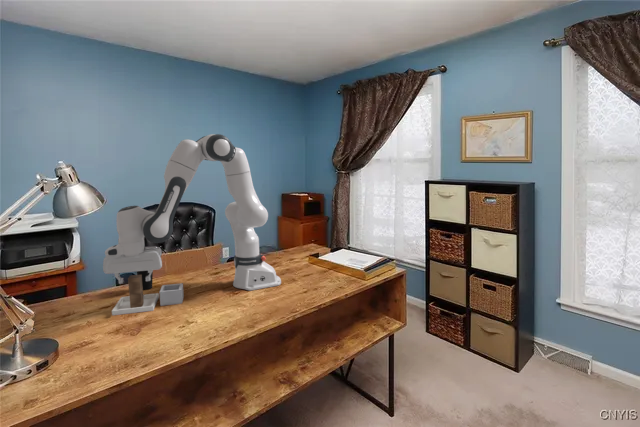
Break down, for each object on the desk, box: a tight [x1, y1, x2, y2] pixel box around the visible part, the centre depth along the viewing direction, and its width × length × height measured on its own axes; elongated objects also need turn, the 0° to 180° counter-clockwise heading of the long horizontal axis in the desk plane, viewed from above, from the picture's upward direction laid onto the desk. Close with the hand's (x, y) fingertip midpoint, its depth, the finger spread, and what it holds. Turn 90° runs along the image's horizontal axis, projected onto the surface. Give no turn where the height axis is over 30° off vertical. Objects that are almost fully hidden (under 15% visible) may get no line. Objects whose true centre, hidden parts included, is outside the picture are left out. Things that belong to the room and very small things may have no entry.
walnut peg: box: [127, 274, 144, 308], centre depth 136 cm, size 4×4×12 cm
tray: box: [111, 292, 160, 316], centre depth 136 cm, size 14×14×2 cm
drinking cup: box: [136, 270, 154, 291], centre depth 154 cm, size 8×8×20 cm
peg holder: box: [159, 283, 184, 307], centre depth 141 cm, size 8×8×6 cm
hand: (135, 282), depth 135 cm, fingers open, 8 cm apart
